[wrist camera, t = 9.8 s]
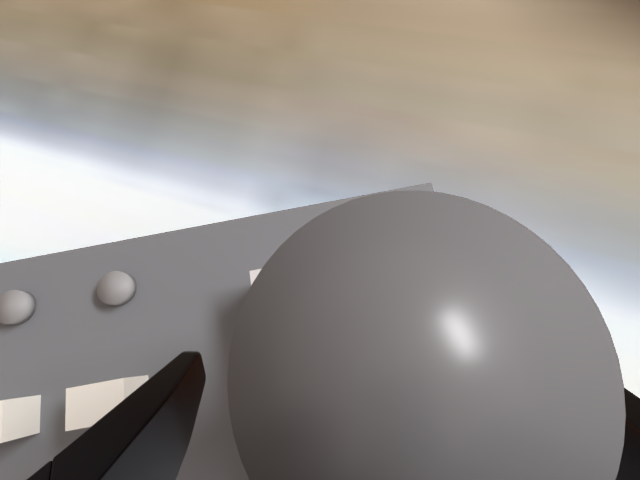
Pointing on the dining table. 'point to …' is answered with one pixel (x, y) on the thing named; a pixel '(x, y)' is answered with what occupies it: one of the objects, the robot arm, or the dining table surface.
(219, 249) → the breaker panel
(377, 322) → the capped spray can
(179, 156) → the dining table surface
